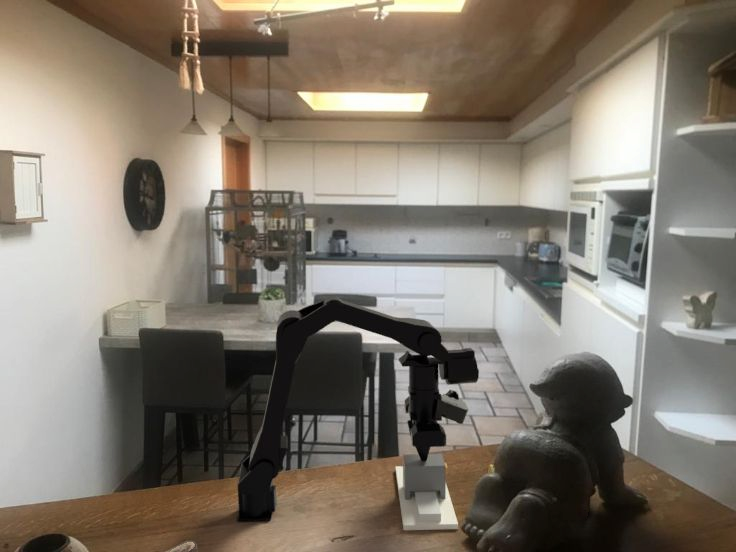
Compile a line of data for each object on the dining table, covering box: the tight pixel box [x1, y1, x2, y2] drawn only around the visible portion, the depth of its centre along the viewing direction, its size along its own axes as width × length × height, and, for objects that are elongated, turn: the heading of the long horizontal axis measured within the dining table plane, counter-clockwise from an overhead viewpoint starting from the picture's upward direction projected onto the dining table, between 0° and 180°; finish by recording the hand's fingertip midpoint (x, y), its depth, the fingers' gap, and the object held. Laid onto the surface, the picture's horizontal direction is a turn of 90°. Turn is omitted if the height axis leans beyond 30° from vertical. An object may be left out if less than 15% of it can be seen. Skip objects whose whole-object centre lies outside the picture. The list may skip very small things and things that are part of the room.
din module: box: [402, 453, 449, 500], centre depth 113 cm, size 9×5×7 cm, turn 91°
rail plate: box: [395, 465, 459, 531], centre depth 114 cm, size 10×22×2 cm, turn 1°
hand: (423, 460), depth 113 cm, fingers closed, pressing on din module
